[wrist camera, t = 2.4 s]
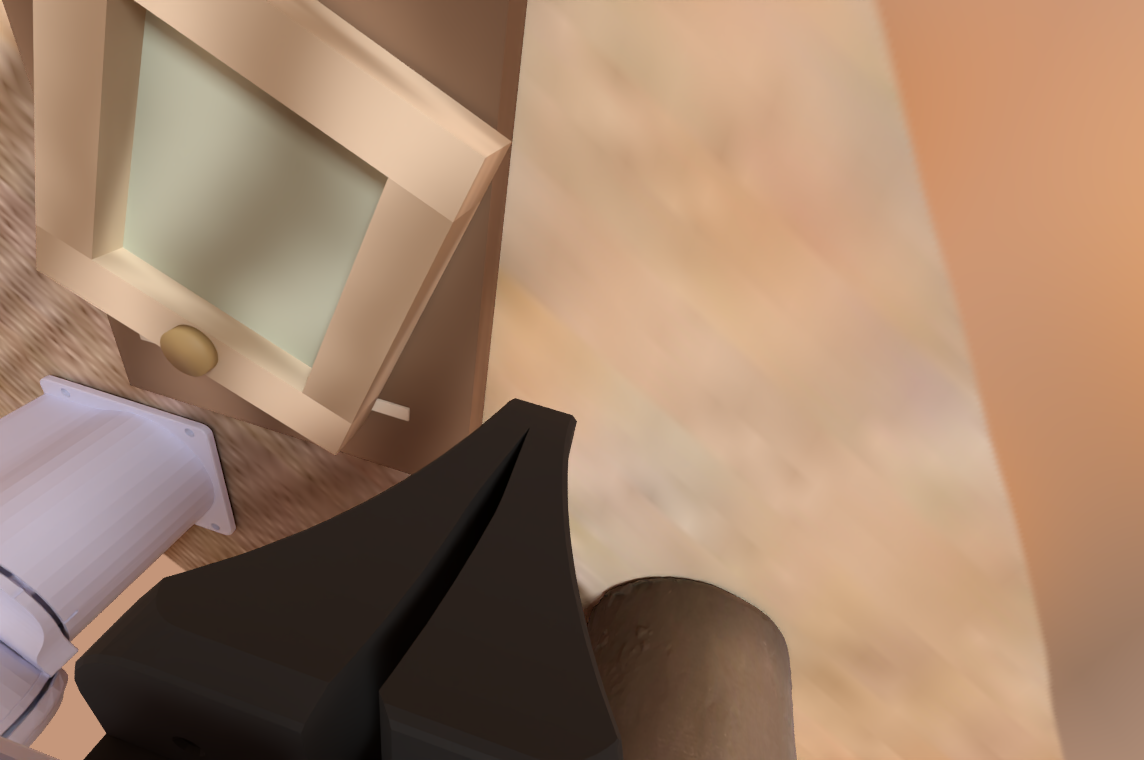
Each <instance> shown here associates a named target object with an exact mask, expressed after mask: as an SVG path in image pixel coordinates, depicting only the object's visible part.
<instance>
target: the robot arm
mask: <svg viewBox="0 0 1144 760" xmlns="http://www.w3.org/2000/svg"><path fill="white" fill-rule="evenodd" d="M40 384H41V387H42V389H43V391H44V393H45V394H43V395H41V396H40V397H38V398H36V399H34V400H32V401H31V402H29V403H27V404H25V405H24V406H22V407H20V408H18V409H17V410H15V411H13V412H11V413H9V414H8V415H6V416H4V417H2V418H1V419H0V760H59V759H57V758H54V757H52V756H49V755H47V754H44V753H41V752H39V751H37V750H34V749H32V748H29V746H30V745H31V744H32V743H33V742H34V741H35V740H36V738H37V737H38V736H39V735H40V734H41V733H42V731H43V730H44V729H45V727H46V726H47V725H48V723H49V722H50V721H51V719H52V718H53V716H54V715H55V714H56V712H57V710H58V708H59V706H60V704H61V702H62V699H63V694H64V690H65V688H66V684H67V681H68V675H67V673H66V672H65V671H64V670H63V669H62V668H61V667H62V666H63V665H64V664H66V663H67V661H68V660H70V659H71V658H72V657H73V656H74V655H75V654H76V653H77V652H78V648H76V647H75V646H74V645H73V644H72V643H71V642H70V641H72V640H73V639H74V638H75V637H76V636H77V635H78V634H79V633H80V632H81V631H82V630H83V629H84V628H85V627H86V626H87V625H88V624H89V623H91V622H92V620H94V619H95V618H96V617H97V616H98V614H100V613H101V612H102V611H103V610H104V609H105V608H106V607H107V606H108V605H109V604H110V603H112V602H113V601H114V600H115V599H116V598H117V597H118V595H120V594H121V593H122V592H123V591H124V590H125V589H126V588H127V587H128V586H129V585H130V584H131V583H132V582H133V581H135V580H136V579H137V578H138V577H139V576H140V575H141V574H142V573H143V572H144V571H145V570H146V569H147V568H148V567H149V566H150V565H151V564H152V563H153V562H155V561H156V560H157V559H158V558H159V557H160V556H161V555H162V554H163V553H164V552H165V551H166V550H167V549H168V548H169V547H170V546H171V545H172V544H174V543H175V542H176V541H177V540H178V539H179V538H180V537H181V536H182V535H183V534H184V533H185V532H186V531H187V530H188V529H189V528H190V527H191V526H192V525H193V524H195V525H198V526H201V527H204V528H207V529H210V530H213V531H216V532H218V533H221V534H224V535H231V534H232V533H233V532H234V531H235V530H236V526H235V521H234V517H233V513H232V509H231V505H230V501H229V497H228V493H227V489H226V485H225V481H224V477H223V473H222V469H221V464H220V460H219V456H218V452H217V448H216V444H215V440H214V436H213V433H212V430H211V429H210V428H209V427H208V426H206V425H204V424H202V423H199V422H196V421H193V420H189V419H186V418H183V417H180V416H177V415H174V414H171V413H168V412H164V411H161V410H158V409H155V408H152V407H149V406H146V405H143V404H139V403H136V402H133V401H130V400H127V399H124V398H121V397H118V396H114V395H111V394H108V393H105V392H102V391H99V390H96V389H93V388H89V387H86V386H83V385H80V384H77V383H74V382H71V381H68V380H65V379H61V378H58V377H55V376H52V375H48V376H46V377H44V378H42V379H41V380H40ZM576 422H577V421H576V420H575V418H574V417H573V415H570V414H566V413H563V412H560V411H556V410H553V409H550V408H546V407H543V406H540V405H536V404H533V403H529V402H526V401H523V400H519V399H516V398H515V399H513V400H511V401H509V402H508V403H507V404H506V405H505V406H503V407H502V408H501V409H500V410H499V411H498V412H497V413H495V414H494V415H493V416H492V417H491V418H490V419H488V420H487V421H486V422H485V423H484V424H482V425H481V426H480V427H479V428H477V429H476V430H475V431H474V432H472V433H471V434H470V435H468V436H467V437H466V438H464V439H463V440H462V441H460V442H459V443H458V444H456V445H455V446H454V447H452V448H451V449H450V450H448V451H447V452H445V453H444V454H443V455H441V456H440V457H438V458H437V459H435V460H434V461H432V462H431V463H429V464H428V465H426V466H425V467H423V468H422V469H420V470H419V471H417V472H416V473H414V474H413V475H411V476H409V477H408V478H406V479H405V480H403V481H401V482H400V483H398V484H396V485H395V486H393V487H391V488H389V489H388V490H386V491H384V492H382V493H380V494H379V495H377V496H375V497H373V498H371V499H369V500H368V501H366V502H364V503H362V504H360V505H358V506H356V507H354V508H352V509H350V510H348V511H346V512H344V513H341V514H339V515H337V516H335V517H333V518H331V519H329V520H327V521H325V522H322V523H320V524H318V525H316V526H313V527H311V528H309V529H306V530H304V531H301V532H299V533H296V534H294V535H291V536H289V537H286V538H284V539H281V540H278V541H276V542H273V543H271V544H268V545H266V546H263V547H261V548H258V549H255V550H252V551H250V552H247V553H244V554H241V555H238V556H235V557H232V558H229V559H225V560H222V561H219V562H216V563H212V564H209V565H206V566H203V567H199V568H196V569H193V570H189V571H186V572H183V573H180V574H176V575H172V576H169V577H166V578H163V579H162V580H161V581H160V582H159V583H158V584H156V585H155V586H154V587H153V588H152V589H151V590H149V591H148V592H147V593H146V594H145V595H143V596H142V597H141V598H140V599H139V600H138V601H137V602H136V603H135V604H134V605H133V606H132V607H131V608H130V609H129V610H128V611H126V613H124V614H123V615H122V617H120V619H118V620H117V622H116V623H114V624H113V626H111V627H110V628H109V630H107V631H106V632H105V633H104V634H103V635H102V636H101V638H99V639H98V640H97V642H95V643H94V644H93V645H92V646H91V647H90V648H89V650H87V652H85V653H84V654H83V656H81V657H80V658H79V659H78V660H77V661H76V664H75V682H76V684H77V686H78V689H79V691H80V693H81V694H82V696H83V697H84V699H85V700H86V702H87V704H88V705H89V707H90V708H91V710H92V711H93V713H94V715H95V716H96V717H97V719H98V721H99V722H100V724H101V725H102V727H103V729H104V730H105V732H106V735H105V736H104V737H103V738H102V739H101V740H100V741H99V743H98V744H97V745H96V746H95V747H94V748H93V749H92V751H91V752H90V753H89V754H88V755H87V756H86V757H85V759H84V760H624V758H623V750H622V740H621V735H620V732H619V729H618V727H617V724H616V721H615V718H614V715H613V713H612V710H611V707H610V704H609V701H608V698H607V695H606V692H605V689H604V686H603V683H602V680H601V676H600V673H599V670H598V666H597V663H596V659H595V656H594V653H593V649H592V645H591V641H590V637H589V633H588V629H587V625H586V621H585V617H584V613H583V609H582V605H581V600H580V595H579V590H578V585H577V579H576V574H575V567H574V561H573V554H572V547H571V538H570V528H569V515H568V458H569V453H570V448H571V444H572V440H573V435H574V431H575V427H576Z"/></svg>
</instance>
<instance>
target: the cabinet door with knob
mask: <svg viewBox="0 0 1144 760" xmlns="http://www.w3.org/2000/svg"><path fill="white" fill-rule="evenodd" d="M33 53H34V130H35V208H36V270H37V271H39V272H41V273H42V274H44V275H45V276H47V277H49V278H50V279H52V280H54V281H55V282H57V283H58V284H60V285H62V286H63V287H65V288H66V289H68V290H70V291H71V292H73V293H74V294H76V295H78V296H79V297H81V298H82V299H84V300H86V301H87V302H89V303H90V304H92V305H94V306H95V307H97V308H99V309H100V310H102V311H103V312H105V313H107V314H108V315H110V316H111V317H113V318H115V319H116V320H118V321H119V322H121V323H123V324H124V325H126V326H127V327H129V328H131V329H132V330H134V331H136V332H137V333H139V334H140V335H142V336H144V337H145V338H147V339H148V340H150V341H152V342H153V343H155V344H156V345H158V346H160V347H161V349H162V352H163V354H164V355H165V357H166V358H167V360H168V361H169V362H170V363H171V364H172V365H173V366H174V367H175V368H176V369H178V370H179V371H181V372H182V373H184V374H186V375H189V376H194V377H199V376H202V375H204V374H205V375H206V376H208V377H209V378H211V379H213V380H214V381H216V382H217V383H219V384H221V385H222V386H224V387H226V388H227V389H229V390H230V391H232V392H234V393H235V394H237V395H238V396H240V397H242V398H243V399H245V400H246V401H248V402H250V403H251V404H253V405H254V406H256V407H258V408H259V409H261V410H263V411H264V412H266V413H267V414H269V415H271V416H272V417H274V418H275V419H277V420H279V421H280V422H282V423H283V424H285V425H287V426H288V427H290V428H291V429H293V430H295V431H296V432H298V433H299V434H301V435H303V436H304V437H306V438H308V439H309V440H311V441H312V442H314V443H316V444H317V445H319V446H320V447H322V448H324V449H325V450H327V451H328V452H330V453H332V454H333V455H335V456H336V455H337V454H338V453H339V452H340V450H341V449H342V448H343V447H344V446H345V445H346V444H347V443H348V441H349V440H350V439H351V438H352V437H353V436H354V435H355V434H356V433H357V431H358V430H359V429H360V428H361V427H362V426H363V425H364V423H365V421H366V419H367V418H368V416H369V414H370V412H371V410H372V408H373V406H374V404H375V402H376V400H377V398H378V397H379V395H380V393H381V391H382V389H383V387H384V385H385V383H386V381H387V379H388V377H389V376H390V374H391V372H392V370H393V368H394V366H395V364H396V362H397V360H398V358H399V356H400V355H401V353H402V351H403V349H404V347H405V345H406V343H407V341H408V339H409V337H410V335H411V334H412V332H413V330H414V328H415V326H416V324H417V322H418V320H419V318H420V316H421V314H422V312H423V311H424V309H425V307H426V305H427V303H428V301H429V299H430V297H431V295H432V293H433V291H434V290H435V288H436V286H437V284H438V282H439V280H440V278H441V276H442V274H443V272H444V270H445V269H446V267H447V265H448V263H449V261H450V259H451V257H452V255H453V253H454V251H455V249H456V248H457V246H458V244H459V242H460V240H461V238H462V236H463V234H464V232H465V230H466V228H467V227H468V225H469V223H470V221H471V219H472V217H473V215H474V213H475V211H476V209H477V207H478V206H479V204H480V202H481V200H482V198H483V196H484V194H485V192H486V190H487V188H488V186H489V185H490V183H491V181H492V179H493V177H494V175H495V173H496V171H497V169H498V167H499V165H500V164H501V162H502V160H503V158H504V156H505V154H506V152H507V150H508V148H509V146H510V144H511V143H512V142H511V141H510V140H509V139H507V138H506V137H505V136H503V135H502V134H500V133H499V132H498V131H496V130H495V129H494V128H492V127H491V126H489V125H488V124H487V123H485V122H484V121H483V120H481V119H480V118H478V117H477V116H476V115H474V114H473V113H472V112H470V111H469V110H467V109H466V108H465V107H463V106H462V105H461V104H459V103H458V102H456V101H455V100H454V99H452V98H451V97H450V96H448V95H447V94H445V93H444V92H443V91H441V90H440V89H438V88H437V87H436V86H434V85H433V84H432V83H430V82H429V81H427V80H426V79H425V78H423V77H422V76H421V75H419V74H418V73H416V72H415V71H414V70H412V69H411V68H410V67H408V66H407V65H405V64H404V63H403V62H401V61H400V60H399V59H397V58H396V57H394V56H393V55H392V54H390V53H389V52H388V51H386V50H385V49H383V48H382V47H381V46H379V45H378V44H377V43H375V42H374V41H372V40H371V39H370V38H368V37H367V36H366V35H364V34H363V33H361V32H360V31H359V30H357V29H356V28H354V27H353V26H352V25H350V24H349V23H348V22H346V21H345V20H343V19H342V18H341V17H339V16H338V15H337V14H335V13H334V12H332V11H331V10H330V9H328V8H327V7H326V6H324V5H323V4H321V3H320V2H319V1H317V0H33Z"/></svg>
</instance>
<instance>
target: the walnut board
mask: <svg viewBox="0 0 1144 760" xmlns="http://www.w3.org/2000/svg"><path fill="white" fill-rule="evenodd" d="M2 1H3V4H4V7H5V10H6V13H7V16H8V19H9V22H10V25H11V28H12V31H13V34H14V37H15V40H16V43H17V46H18V49H19V52H20V55H21V58H22V61H23V64H24V67H25V70H26V73H27V76H28V79H29V82H30V85H31V88H32V91H33V94H34V53H33V0H2ZM317 1H319V2H320V3H321V4H323V5H324V6H326V7H327V8H328V9H330V10H331V11H332V12H334V13H335V14H337V15H338V16H339V17H341V18H342V19H343V20H345V21H346V22H348V23H349V24H350V25H352V26H353V27H354V28H356V29H357V30H359V31H360V32H361V33H363V34H364V35H366V36H367V37H368V38H370V39H371V40H372V41H374V42H375V43H377V44H378V45H379V46H381V47H382V48H383V49H385V50H386V51H388V52H389V53H390V54H392V55H393V56H394V57H396V58H397V59H399V60H400V61H401V62H403V63H404V64H405V65H407V66H408V67H410V68H411V69H412V70H414V71H415V72H416V73H418V74H419V75H421V76H422V77H423V78H425V79H426V80H427V81H429V82H430V83H432V84H433V85H434V86H436V87H437V88H438V89H440V90H441V91H443V92H444V93H445V94H447V95H448V96H450V97H451V98H452V99H454V100H455V101H456V102H458V103H459V104H461V105H462V106H463V107H465V108H466V109H467V110H469V111H470V112H472V113H473V114H474V115H476V116H477V117H478V118H480V119H481V120H483V121H484V122H485V123H487V124H488V125H489V126H491V127H492V128H494V129H495V130H496V131H498V132H499V133H500V134H502V135H503V136H505V137H506V138H507V139H509V140H510V141H511V142H512V138H513V129H514V119H515V110H516V101H517V91H518V82H519V73H520V64H521V54H522V45H523V36H524V26H525V17H526V8H527V0H317ZM511 147H512V143H511V144H510V146H509V148H508V150H507V152H506V154H505V156H504V158H503V160H502V162H501V164H500V165H499V167H498V169H497V171H496V173H495V175H494V177H493V179H492V181H491V183H490V185H489V186H488V188H487V190H486V192H485V194H484V196H483V198H482V200H481V202H480V204H479V206H478V207H477V209H476V211H475V213H474V215H473V217H472V219H471V221H470V223H469V225H468V227H467V228H466V230H465V232H464V234H463V236H462V238H461V240H460V242H459V244H458V246H457V248H456V249H455V251H454V253H453V255H452V257H451V259H450V261H449V263H448V265H447V267H446V269H445V270H444V272H443V274H442V276H441V278H440V280H439V282H438V284H437V286H436V288H435V290H434V291H433V293H432V295H431V297H430V299H429V301H428V303H427V305H426V307H425V309H424V311H423V312H422V314H421V316H420V318H419V320H418V322H417V324H416V326H415V328H414V330H413V332H412V334H411V335H410V337H409V339H408V341H407V343H406V345H405V347H404V349H403V351H402V353H401V355H400V356H399V358H398V360H397V362H396V364H395V366H394V368H393V370H392V372H391V374H390V376H389V377H388V379H387V381H386V383H385V385H384V387H383V389H382V391H381V393H380V395H379V397H378V398H377V400H376V402H375V404H374V406H373V408H372V410H371V412H370V414H369V416H368V418H367V419H366V421H365V423H364V425H363V426H362V427H361V428H360V429H359V430H358V431H357V433H356V434H355V435H354V436H353V437H352V438H351V439H350V440H349V441H348V443H347V444H346V445H345V446H344V447H343V448H342V449H341V450H340V452H342V453H346V454H349V455H352V456H355V457H358V458H361V459H364V460H368V461H371V462H374V463H377V464H380V465H383V466H387V467H390V468H393V469H396V470H399V471H402V472H405V473H409V474H412V475H413V474H414V473H416V472H417V471H419V470H420V469H422V468H423V467H425V466H426V465H428V464H429V463H431V462H432V461H434V460H435V459H437V458H438V457H440V456H441V455H443V454H444V453H445V452H447V451H448V450H450V449H451V448H452V447H454V446H455V445H456V444H458V443H459V442H460V441H462V440H463V439H464V438H466V437H467V436H468V435H470V434H471V433H472V432H474V431H475V430H476V429H477V428H479V427H480V426H481V425H482V418H483V408H484V399H485V390H486V380H487V371H488V362H489V352H490V343H491V334H492V324H493V315H494V306H495V296H496V287H497V278H498V268H499V259H500V250H501V241H502V231H503V222H504V213H505V203H506V194H507V185H508V175H509V166H510V157H511ZM107 316H108V319H109V322H110V325H111V328H112V331H113V334H114V337H115V340H116V343H117V346H118V349H119V352H120V355H121V358H122V361H123V364H124V367H125V370H126V373H127V376H128V379H129V382H130V385H131V386H134V387H137V388H141V389H144V390H147V391H150V392H153V393H156V394H160V395H163V396H166V397H169V398H172V399H175V400H178V401H182V402H185V403H188V404H191V405H194V406H197V407H201V408H204V409H207V410H210V411H213V412H216V413H219V414H223V415H226V416H229V417H232V418H235V419H238V420H242V421H245V422H248V423H251V424H254V425H257V426H260V427H264V428H267V429H270V430H273V431H276V432H279V433H282V434H286V435H289V436H292V437H295V438H298V439H301V440H305V441H308V442H311V443H314V442H312V441H311V440H309V439H308V438H306V437H304V436H303V435H301V434H299V433H298V432H296V431H295V430H293V429H291V428H290V427H288V426H287V425H285V424H283V423H282V422H280V421H279V420H277V419H275V418H274V417H272V416H271V415H269V414H267V413H266V412H264V411H263V410H261V409H259V408H258V407H256V406H254V405H253V404H251V403H250V402H248V401H246V400H245V399H243V398H242V397H240V396H238V395H237V394H235V393H234V392H232V391H230V390H229V389H227V388H226V387H224V386H222V385H221V384H219V383H217V382H216V381H214V380H213V379H211V378H209V377H208V376H206V375H205V374H204V375H202V376H199V377H194V376H189V375H186V374H184V373H182V372H181V371H179V370H178V369H176V368H175V367H174V366H173V365H172V364H171V363H170V362H169V361H168V360H167V358H166V357H165V355H164V354H163V352H162V349H161V347H160V346H158V345H156V344H155V343H153V342H152V341H150V340H148V339H147V338H145V337H144V336H142V335H140V334H139V333H137V332H136V331H134V330H132V329H131V328H129V327H127V326H126V325H124V324H123V323H121V322H119V321H118V320H116V319H115V318H113V317H111V316H110V315H108V314H107ZM314 444H316V443H314Z"/></svg>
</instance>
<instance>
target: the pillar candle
mask: <svg viewBox="0 0 1144 760" xmlns="http://www.w3.org/2000/svg"><path fill="white" fill-rule="evenodd" d="M587 629H588V633H589V637H590V641H591V645H592V649H593V653H594V656H595V659H596V663H597V666H598V670H599V673H600V676H601V680H602V683H603V686H604V689H605V692H606V695H607V698H608V701H609V704H610V707H611V710H612V713H613V715H614V718H615V721H616V724H617V727H618V729H619V732H620V735H621V740H622V750H623V758H624V760H797V757H796V747H795V737H794V722H793V703H792V692H791V691H792V682H791V670H790V660H789V654H788V649H787V645H786V642H785V639H784V637H783V635H782V633H781V632H780V630H778V627H777V626H776V625H775V624H774V622H773V621H772V620H771V619H770V618H769V617H768V616H767V615H765V614H764V613H762V611H760V610H759V609H758V608H756V607H754V606H752V605H751V604H749V603H747V602H745V601H744V600H742V599H740V598H739V597H737V596H734V595H732V594H730V593H728V592H726V591H724V590H723V589H720V588H718V587H715V586H712V585H709V584H706V583H702V582H695V581H693V580H687V579H674V578H673V577H672V578H671V577H670V578H667V579H664V578H660V579H659V578H655V579H646V580H638V581H636V582H633V583H628V584H627V585H624V586H619V587H616V588H615V589H612V590H611V591H608V592H607V593H606V594H605V595H604V597H603V598H602V599H601V600H600V603H599V604H598V605H597V606H595V607H594V608H593V610H592V612H591V616H590V620H589V623H588V627H587Z"/></svg>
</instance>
